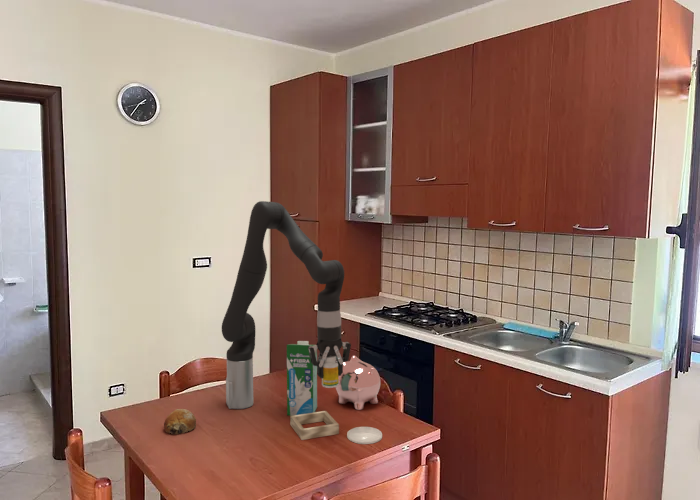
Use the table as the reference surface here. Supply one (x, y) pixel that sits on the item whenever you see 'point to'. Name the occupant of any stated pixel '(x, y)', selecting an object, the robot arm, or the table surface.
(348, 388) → the piggy bank
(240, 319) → the robot arm
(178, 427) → the bread roll
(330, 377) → the supplement bottle
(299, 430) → the frame
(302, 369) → the milk carton
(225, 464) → the table surface
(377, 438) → the coaster
